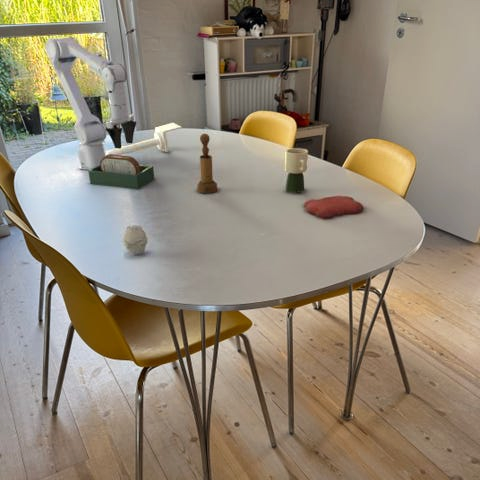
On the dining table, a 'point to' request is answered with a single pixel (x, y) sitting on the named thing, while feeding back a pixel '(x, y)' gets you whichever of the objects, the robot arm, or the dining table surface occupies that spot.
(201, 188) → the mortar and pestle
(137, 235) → the off-white lumpy ball
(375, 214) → the dining table surface
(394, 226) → the dining table surface
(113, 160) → the tin
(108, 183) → the tote
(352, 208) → the patty
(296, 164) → the character mug
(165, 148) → the paper towel holder
